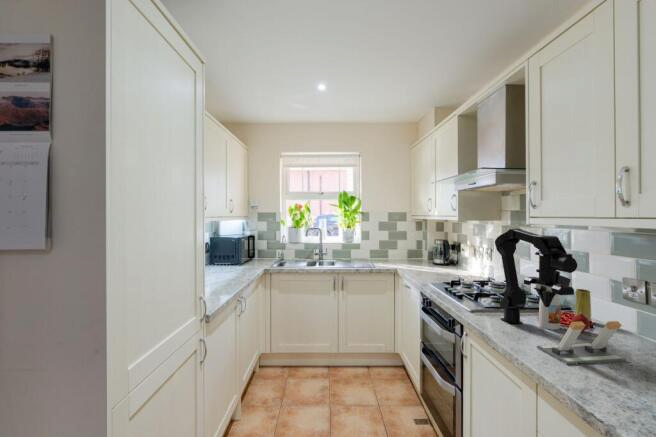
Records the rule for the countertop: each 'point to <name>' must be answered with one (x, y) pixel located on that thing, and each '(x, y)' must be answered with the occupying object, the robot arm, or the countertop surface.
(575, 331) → the lever
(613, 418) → the countertop surface
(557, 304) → the milk bottle
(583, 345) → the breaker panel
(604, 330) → the on lever
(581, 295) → the vase
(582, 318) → the onion
